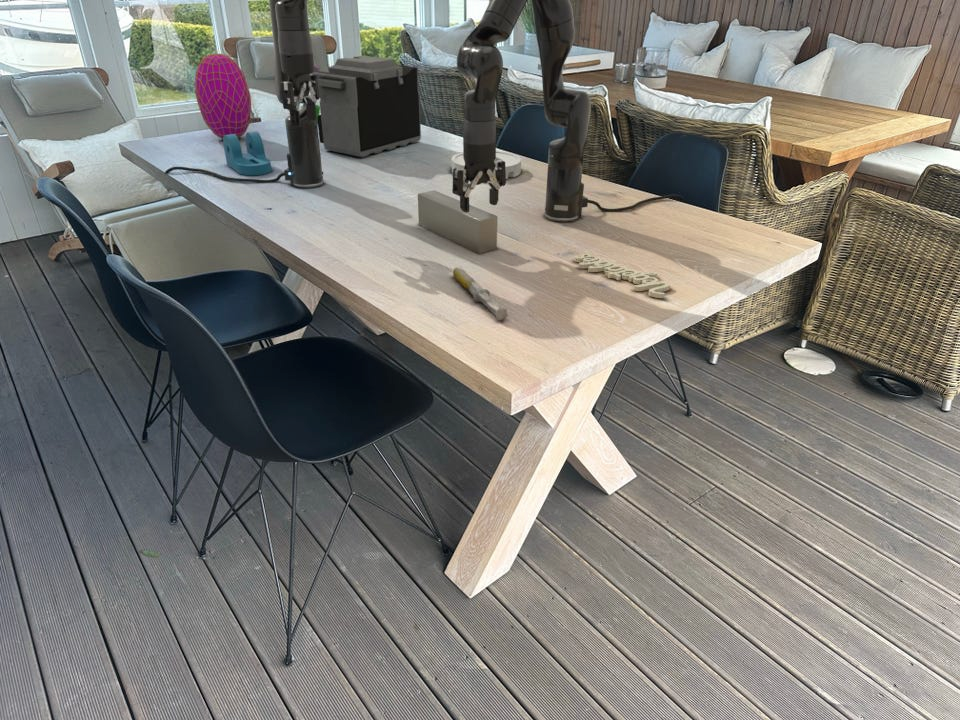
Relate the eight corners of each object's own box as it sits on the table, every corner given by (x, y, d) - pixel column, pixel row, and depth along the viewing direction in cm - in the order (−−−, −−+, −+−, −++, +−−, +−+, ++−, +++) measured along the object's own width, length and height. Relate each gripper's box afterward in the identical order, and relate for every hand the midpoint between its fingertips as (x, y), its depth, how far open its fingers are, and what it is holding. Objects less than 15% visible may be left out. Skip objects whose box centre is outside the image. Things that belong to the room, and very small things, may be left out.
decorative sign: (686, 282, 150) (660, 295, 144) (686, 286, 150) (659, 300, 144) (592, 249, 166) (565, 259, 160) (592, 253, 167) (565, 263, 161)
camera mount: (227, 164, 233) (221, 132, 227) (257, 160, 238) (252, 129, 233) (244, 176, 220) (239, 143, 215) (276, 172, 225) (271, 139, 220)
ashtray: (453, 161, 240) (453, 149, 238) (520, 162, 239) (520, 150, 237) (449, 179, 220) (449, 167, 218) (521, 181, 219) (522, 168, 217)
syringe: (449, 274, 155) (449, 263, 153) (465, 272, 156) (464, 260, 154) (490, 323, 135) (491, 310, 133) (508, 319, 136) (508, 307, 134)
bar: (418, 224, 184) (417, 193, 179) (435, 220, 187) (434, 190, 182) (479, 254, 166) (480, 220, 162) (496, 249, 169) (497, 216, 165)
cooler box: (383, 133, 276) (378, 52, 261) (425, 141, 265) (422, 56, 250) (314, 150, 251) (304, 61, 235) (358, 160, 240) (350, 67, 224)
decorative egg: (221, 147, 254) (205, 59, 239) (195, 138, 265) (178, 54, 250) (266, 138, 266) (254, 54, 251) (239, 130, 277) (226, 49, 262)
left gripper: (295, 47, 166) (303, 116, 174) (265, 53, 154) (276, 128, 162) (324, 48, 164) (331, 118, 173) (296, 55, 153) (305, 130, 161)
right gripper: (464, 147, 150) (465, 218, 159) (513, 137, 158) (512, 205, 166) (444, 140, 155) (446, 210, 164) (493, 131, 163) (492, 198, 171)
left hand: (304, 123), depth 167 cm, fingers open, 8 cm apart
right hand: (479, 207), depth 165 cm, fingers open, 8 cm apart
